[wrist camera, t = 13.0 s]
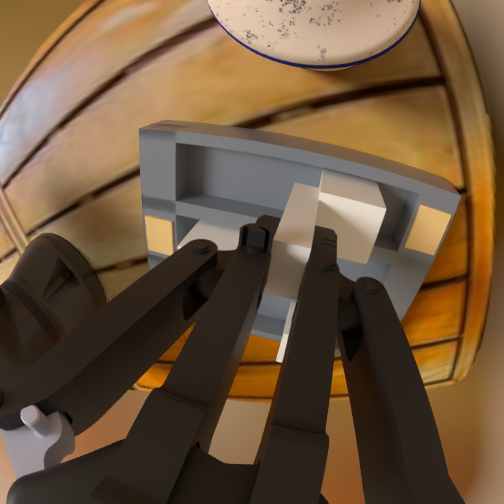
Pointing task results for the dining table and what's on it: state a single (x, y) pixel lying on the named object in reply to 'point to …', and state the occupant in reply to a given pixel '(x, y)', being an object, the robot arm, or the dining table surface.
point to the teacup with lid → (317, 29)
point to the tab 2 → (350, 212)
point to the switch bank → (285, 200)
